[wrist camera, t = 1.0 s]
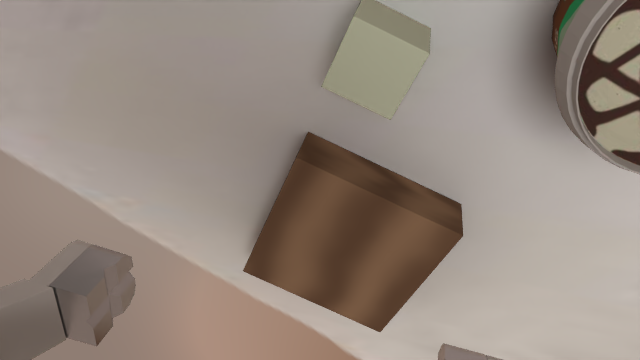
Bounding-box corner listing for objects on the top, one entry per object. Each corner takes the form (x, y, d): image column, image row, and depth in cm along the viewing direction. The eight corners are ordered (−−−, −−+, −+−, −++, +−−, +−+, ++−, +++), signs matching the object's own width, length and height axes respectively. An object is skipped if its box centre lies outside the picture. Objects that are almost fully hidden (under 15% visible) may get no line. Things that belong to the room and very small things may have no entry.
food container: (492, 3, 31) (510, 58, 23) (587, -71, 28) (648, -36, 20) (591, 136, 34) (637, 225, 26) (685, 86, 31) (771, 169, 23)
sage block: (334, 59, 35) (321, 86, 31) (364, -6, 32) (353, 16, 28) (395, 89, 35) (390, 120, 31) (430, 27, 32) (429, 53, 28)
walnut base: (256, 241, 47) (242, 271, 44) (308, 131, 39) (296, 157, 36) (384, 299, 48) (380, 332, 45) (461, 204, 40) (463, 235, 37)
